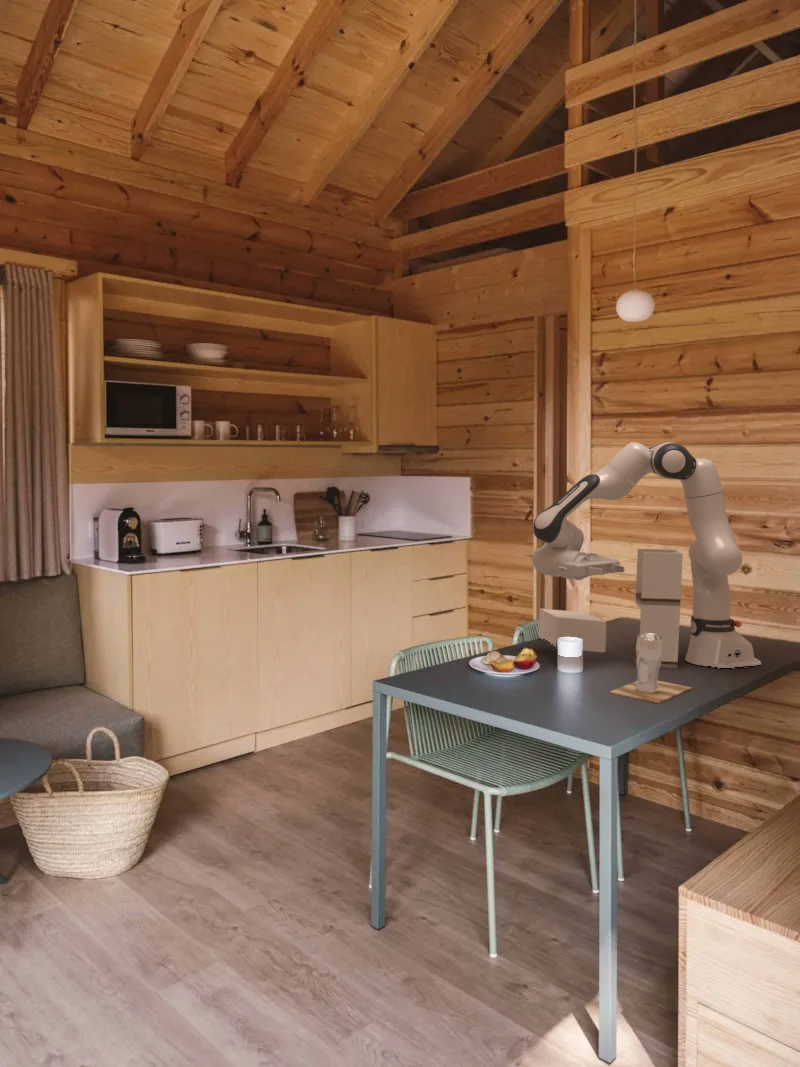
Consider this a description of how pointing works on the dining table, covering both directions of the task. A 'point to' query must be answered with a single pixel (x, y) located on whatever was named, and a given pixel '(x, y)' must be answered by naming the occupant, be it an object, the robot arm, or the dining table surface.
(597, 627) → the tan angular block
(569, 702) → the dining table surface
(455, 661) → the dining table surface
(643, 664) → the beer glass
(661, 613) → the stacked tan pillar
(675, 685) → the placemat
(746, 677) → the dining table surface
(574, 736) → the dining table surface
